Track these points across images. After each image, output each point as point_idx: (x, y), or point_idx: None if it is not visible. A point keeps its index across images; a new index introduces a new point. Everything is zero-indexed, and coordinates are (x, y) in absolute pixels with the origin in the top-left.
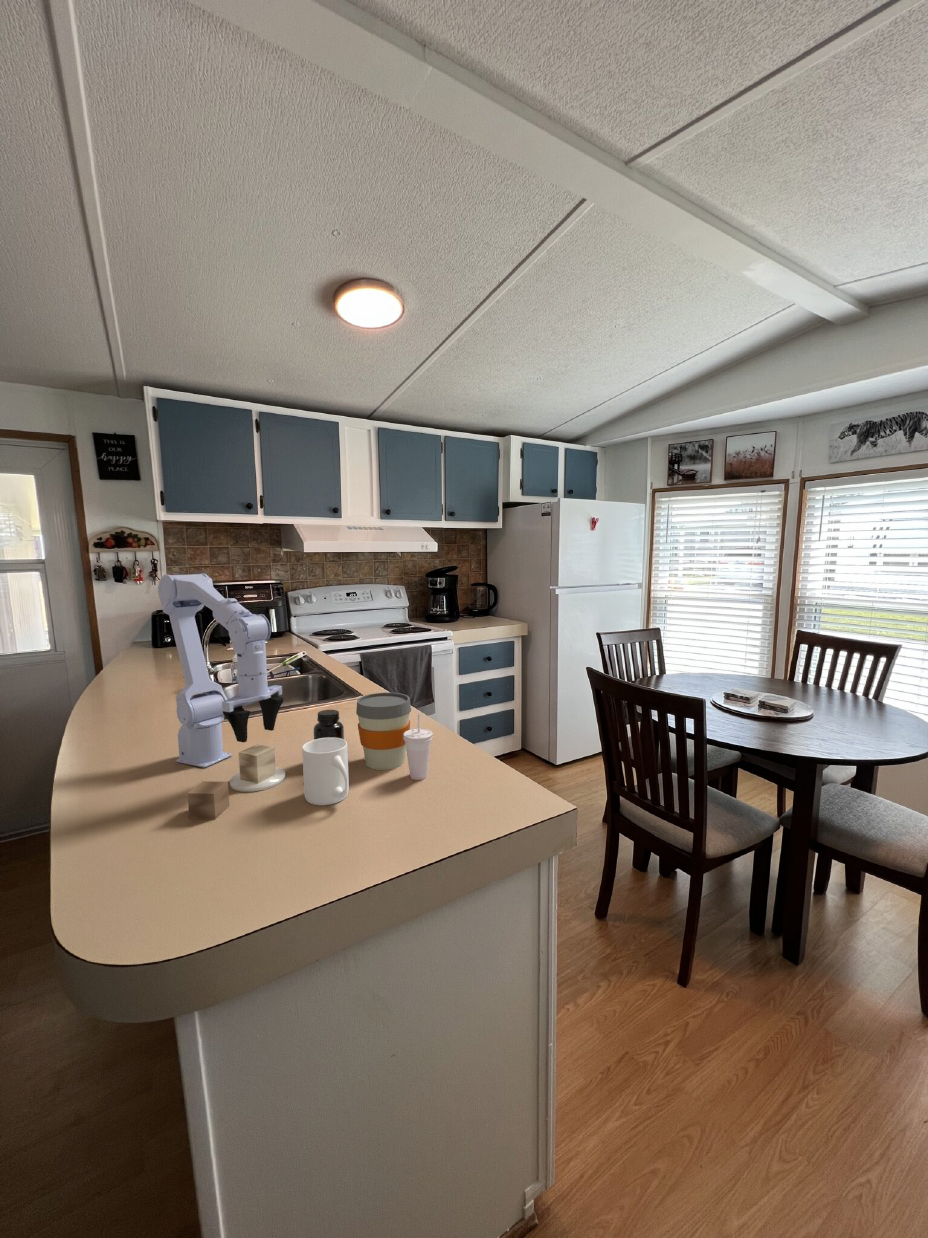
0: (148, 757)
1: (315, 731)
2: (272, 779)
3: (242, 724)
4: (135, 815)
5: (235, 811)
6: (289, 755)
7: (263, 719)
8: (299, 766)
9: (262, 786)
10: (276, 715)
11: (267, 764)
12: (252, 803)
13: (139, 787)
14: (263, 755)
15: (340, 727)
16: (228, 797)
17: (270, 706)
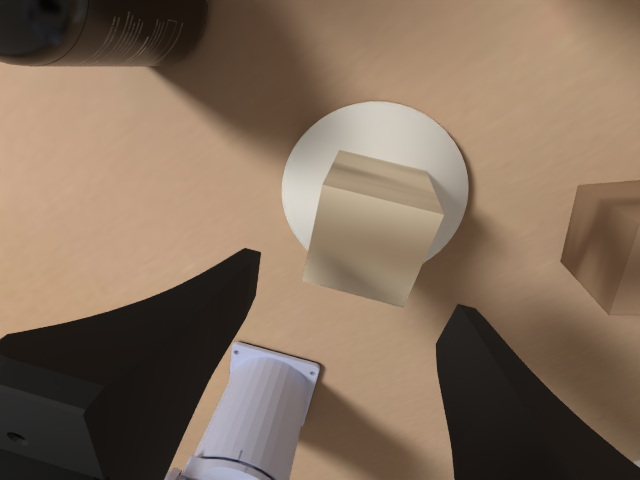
0: (293, 464)
1: (78, 9)
2: (386, 135)
3: (585, 424)
4: (597, 380)
5: (632, 140)
6: (168, 197)
7: (228, 344)
8: (230, 110)
9: (452, 140)
10: (183, 287)
11: (375, 175)
12: (566, 112)
13: (436, 428)
14: (398, 197)
15: None
16: (600, 197)
17: (165, 390)
